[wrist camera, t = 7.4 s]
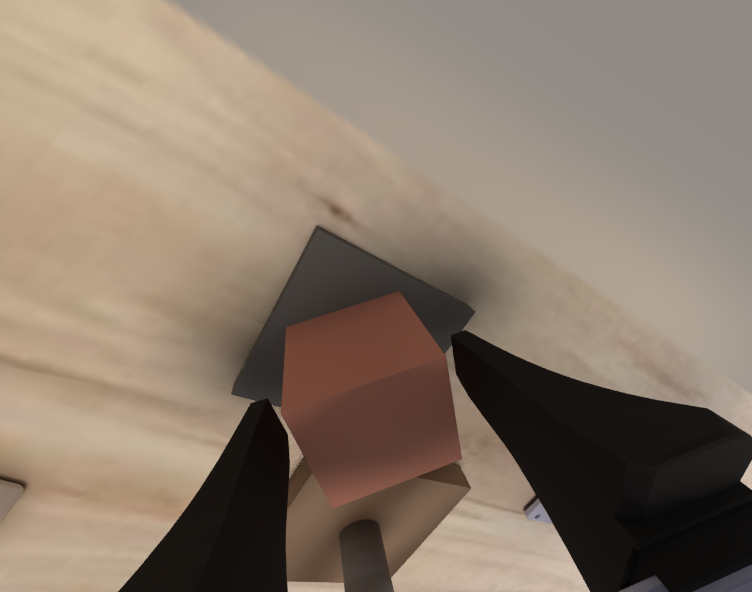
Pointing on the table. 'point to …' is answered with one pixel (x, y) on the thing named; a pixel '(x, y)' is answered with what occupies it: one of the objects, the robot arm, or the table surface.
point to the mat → (339, 306)
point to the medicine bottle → (8, 496)
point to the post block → (364, 528)
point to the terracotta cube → (368, 398)
